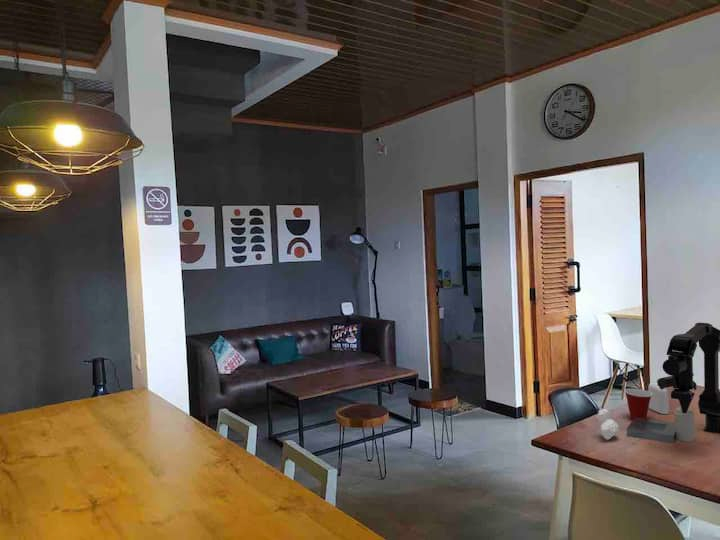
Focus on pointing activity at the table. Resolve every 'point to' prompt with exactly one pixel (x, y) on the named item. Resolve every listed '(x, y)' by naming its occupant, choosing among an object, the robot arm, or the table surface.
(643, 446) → the table surface
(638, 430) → the jig plate
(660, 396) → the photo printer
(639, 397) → the plastic cup
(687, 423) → the beverage can
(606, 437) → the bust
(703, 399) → the robot arm
